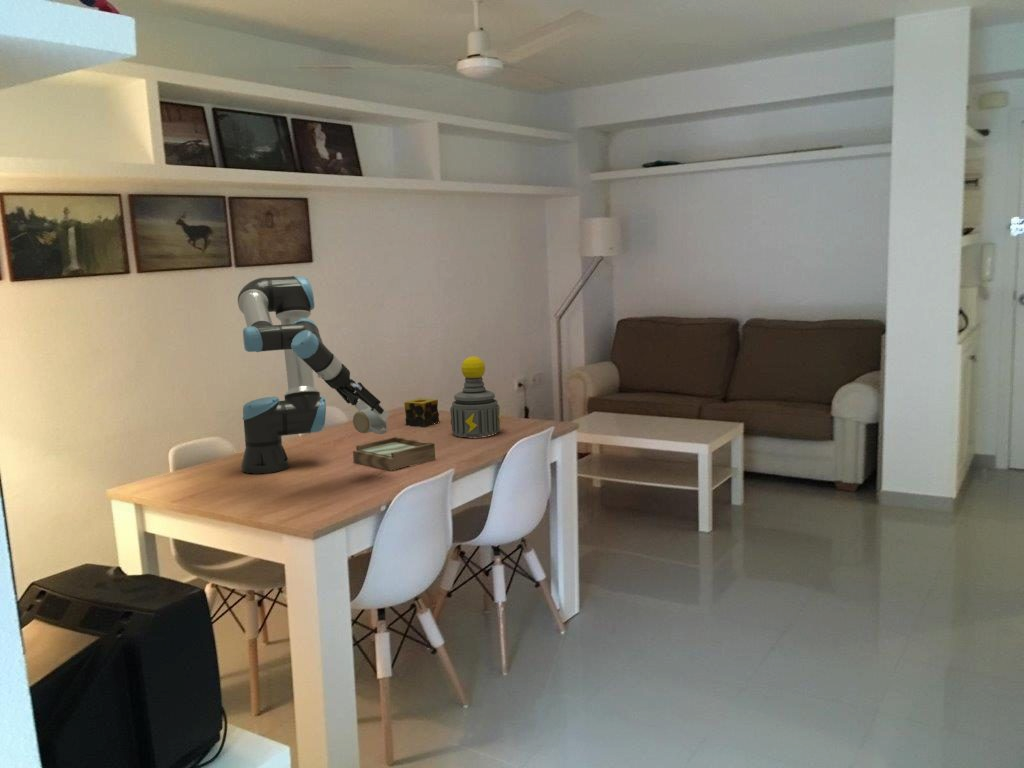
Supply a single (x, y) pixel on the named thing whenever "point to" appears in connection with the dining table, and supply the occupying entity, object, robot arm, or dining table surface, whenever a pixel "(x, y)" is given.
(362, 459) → the walnut tray
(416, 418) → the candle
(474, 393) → the decorative lamp
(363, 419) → the ceramic mug
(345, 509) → the dining table surface
